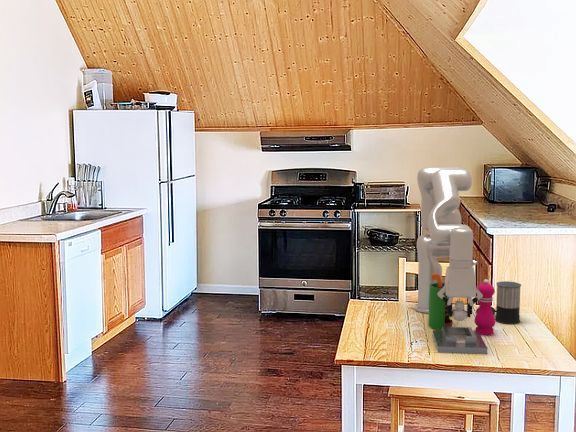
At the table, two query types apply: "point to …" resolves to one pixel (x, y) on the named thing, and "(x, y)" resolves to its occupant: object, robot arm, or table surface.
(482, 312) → the pepper mill
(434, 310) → the green round disc holder
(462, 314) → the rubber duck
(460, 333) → the plate
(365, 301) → the table surface
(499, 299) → the milk frother
